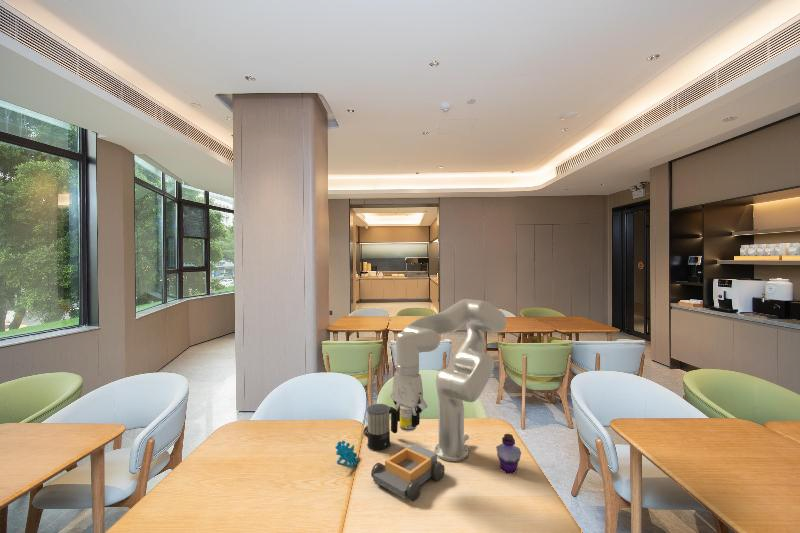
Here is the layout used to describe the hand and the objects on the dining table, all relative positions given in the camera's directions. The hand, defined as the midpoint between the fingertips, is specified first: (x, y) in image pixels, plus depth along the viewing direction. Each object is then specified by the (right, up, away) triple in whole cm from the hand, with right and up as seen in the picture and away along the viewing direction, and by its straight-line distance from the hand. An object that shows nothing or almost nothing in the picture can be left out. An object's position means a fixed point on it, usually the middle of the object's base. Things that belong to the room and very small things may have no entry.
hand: (408, 422), depth 122 cm
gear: (-22, -19, +10) cm, 31 cm away
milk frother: (-13, -19, +26) cm, 35 cm away
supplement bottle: (0, -2, 0) cm, 2 cm away
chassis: (0, -19, +1) cm, 19 cm away
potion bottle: (+35, -19, +6) cm, 40 cm away
